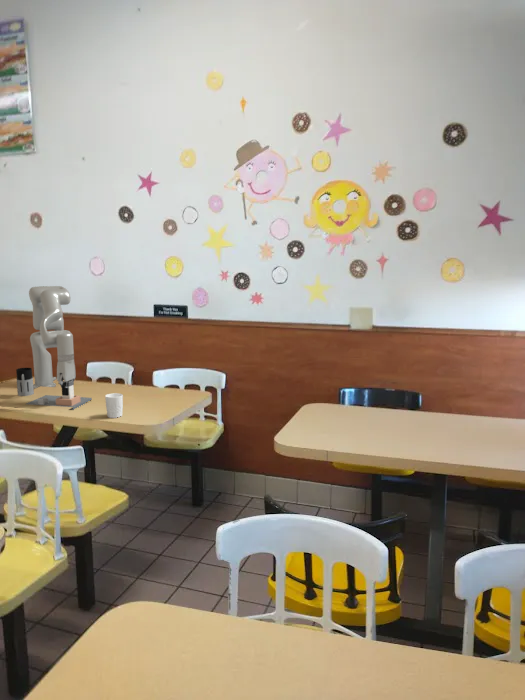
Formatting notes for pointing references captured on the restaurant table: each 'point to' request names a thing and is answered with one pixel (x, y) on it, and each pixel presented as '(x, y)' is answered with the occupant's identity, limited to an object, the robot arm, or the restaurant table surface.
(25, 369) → the glass holder
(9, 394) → the restaurant table surface
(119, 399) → the white cup
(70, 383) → the salt shaker
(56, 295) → the robot arm
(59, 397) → the board
